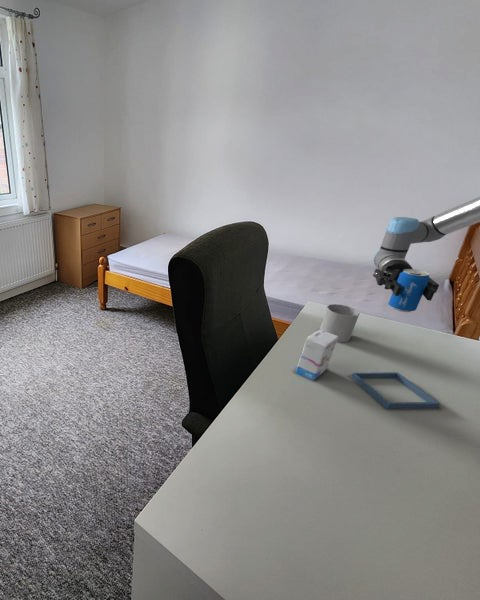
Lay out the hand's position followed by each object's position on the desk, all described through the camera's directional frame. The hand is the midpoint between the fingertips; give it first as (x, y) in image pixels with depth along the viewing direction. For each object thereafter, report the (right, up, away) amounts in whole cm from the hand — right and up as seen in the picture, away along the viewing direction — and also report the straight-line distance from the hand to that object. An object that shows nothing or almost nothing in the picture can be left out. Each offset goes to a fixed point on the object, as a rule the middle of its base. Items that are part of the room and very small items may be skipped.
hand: (414, 293), depth 98 cm
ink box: (-31, -23, -2) cm, 39 cm away
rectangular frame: (-16, -26, -10) cm, 32 cm away
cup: (-12, -14, +15) cm, 24 cm away
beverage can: (+3, -5, +7) cm, 9 cm away
